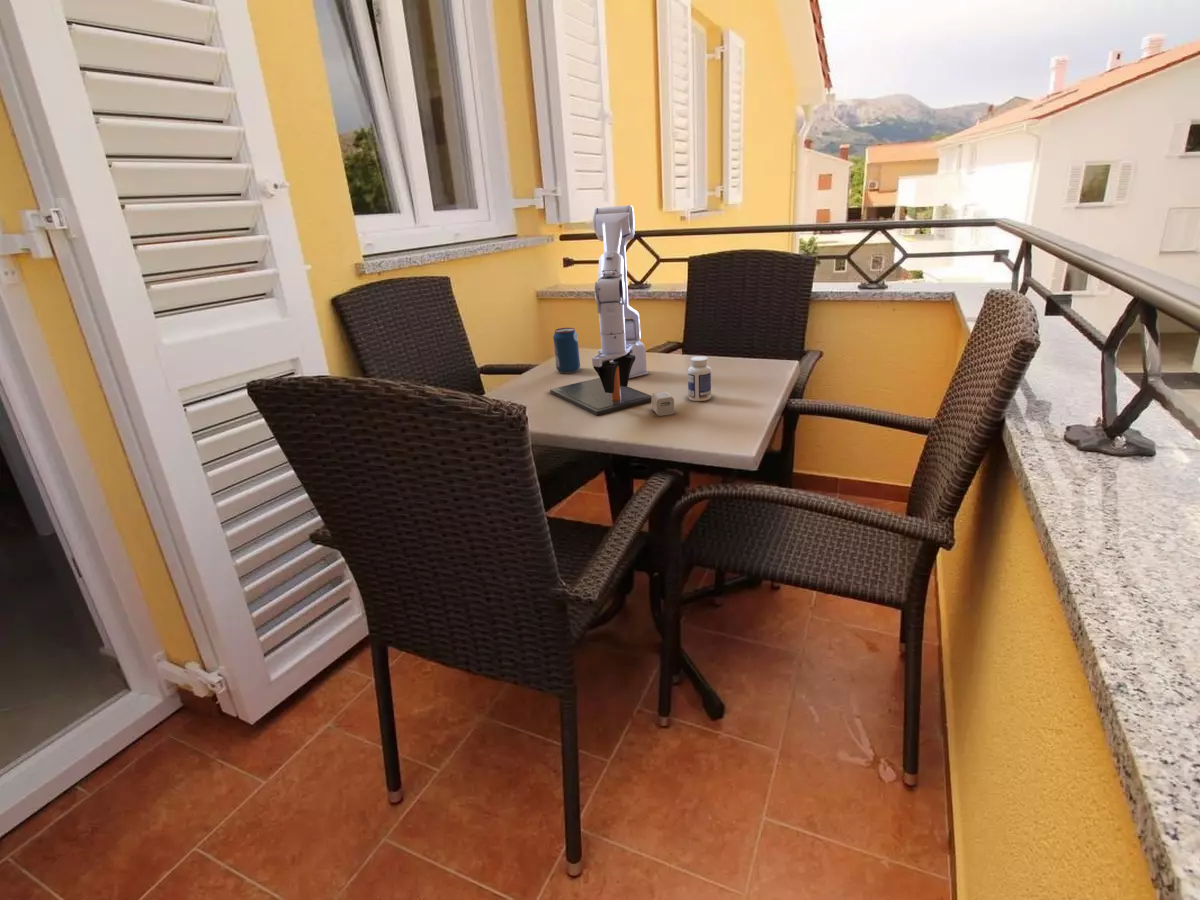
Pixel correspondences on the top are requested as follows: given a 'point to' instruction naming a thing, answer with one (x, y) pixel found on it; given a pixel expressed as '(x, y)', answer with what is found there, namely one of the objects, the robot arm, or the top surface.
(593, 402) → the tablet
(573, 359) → the soda can
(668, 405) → the usb wall charger
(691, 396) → the pill bottle
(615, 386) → the orange marker
